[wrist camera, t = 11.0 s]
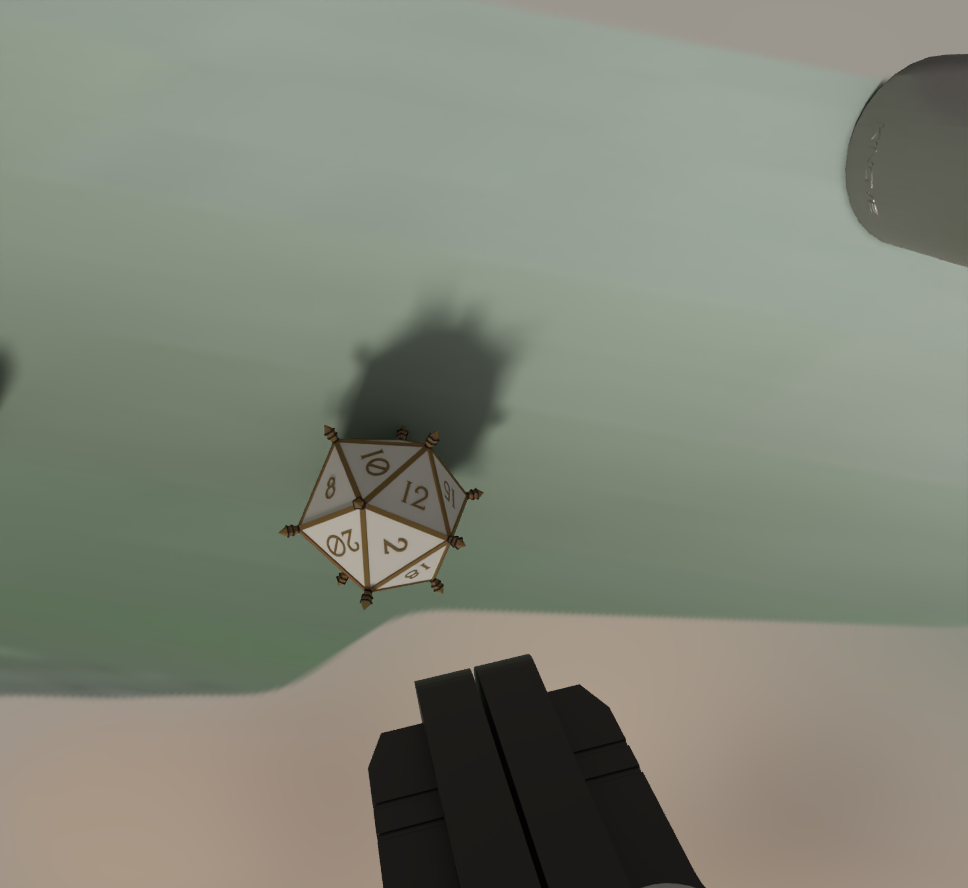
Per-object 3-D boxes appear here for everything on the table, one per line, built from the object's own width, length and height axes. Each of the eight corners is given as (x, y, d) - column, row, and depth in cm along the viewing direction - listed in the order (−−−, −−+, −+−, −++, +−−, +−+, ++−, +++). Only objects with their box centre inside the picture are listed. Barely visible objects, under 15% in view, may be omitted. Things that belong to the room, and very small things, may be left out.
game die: (368, 481, 49) (327, 652, 43) (283, 387, 43) (223, 573, 37) (518, 461, 45) (495, 645, 40) (449, 356, 39) (410, 556, 34)
